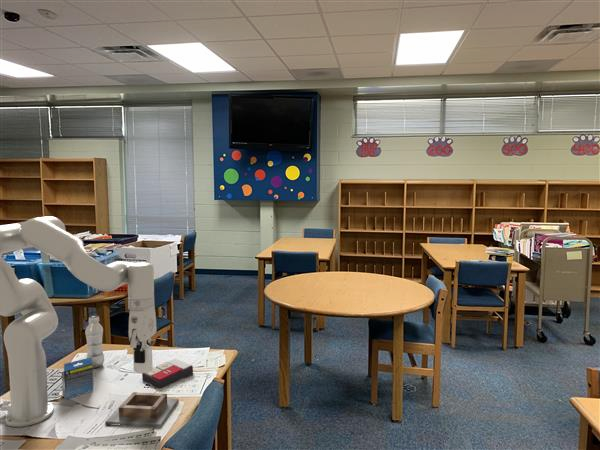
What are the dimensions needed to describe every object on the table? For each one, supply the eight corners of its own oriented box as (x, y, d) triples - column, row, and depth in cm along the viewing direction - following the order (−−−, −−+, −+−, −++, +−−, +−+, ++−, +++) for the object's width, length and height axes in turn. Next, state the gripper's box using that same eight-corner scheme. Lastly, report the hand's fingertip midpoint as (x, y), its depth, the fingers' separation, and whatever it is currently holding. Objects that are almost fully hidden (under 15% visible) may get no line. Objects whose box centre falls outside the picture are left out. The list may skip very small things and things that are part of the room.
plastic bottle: (107, 362, 167) (105, 314, 165) (99, 370, 160) (98, 320, 158) (91, 362, 166) (89, 314, 165) (83, 370, 160) (81, 320, 158)
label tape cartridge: (90, 387, 146) (89, 353, 145) (93, 391, 143) (92, 357, 142) (62, 395, 140) (60, 360, 139) (65, 399, 137) (63, 364, 136)
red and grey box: (141, 371, 152) (175, 356, 164) (142, 382, 152) (176, 366, 164) (158, 380, 145) (193, 363, 157) (159, 391, 146) (193, 374, 158)
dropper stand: (105, 424, 123) (104, 411, 123) (129, 399, 138) (128, 387, 138) (160, 427, 122) (160, 414, 122) (178, 401, 137) (178, 390, 137)
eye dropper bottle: (145, 365, 132) (144, 329, 131) (154, 371, 129) (153, 333, 128) (132, 370, 129) (131, 333, 128) (141, 375, 125) (140, 337, 124)
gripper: (141, 310, 119) (142, 372, 120) (163, 296, 135) (164, 350, 137) (116, 310, 119) (117, 371, 121) (141, 295, 136) (143, 349, 137)
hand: (142, 359), depth 129 cm, fingers closed on eye dropper bottle, 3 cm apart
